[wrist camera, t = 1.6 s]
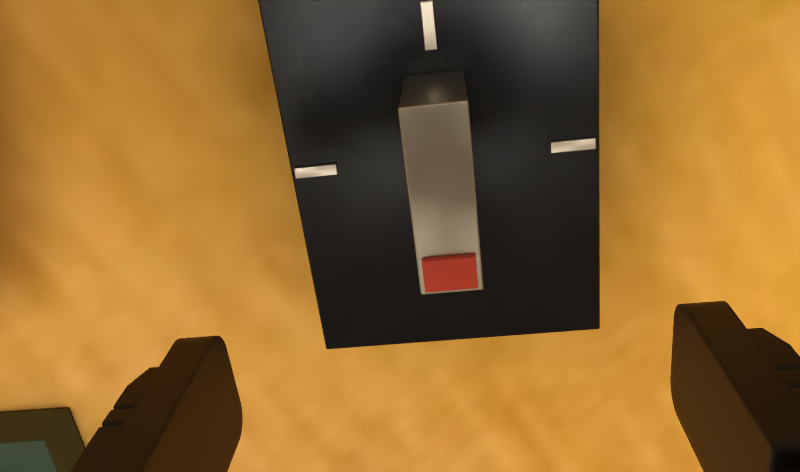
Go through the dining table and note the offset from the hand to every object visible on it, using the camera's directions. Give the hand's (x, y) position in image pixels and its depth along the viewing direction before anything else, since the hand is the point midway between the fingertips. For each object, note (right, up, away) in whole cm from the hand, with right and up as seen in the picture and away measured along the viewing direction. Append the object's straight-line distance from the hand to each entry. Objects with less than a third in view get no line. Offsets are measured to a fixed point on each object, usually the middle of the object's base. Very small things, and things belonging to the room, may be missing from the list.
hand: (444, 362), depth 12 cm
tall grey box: (+1, +5, +10) cm, 11 cm away
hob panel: (+1, +6, +13) cm, 14 cm away
